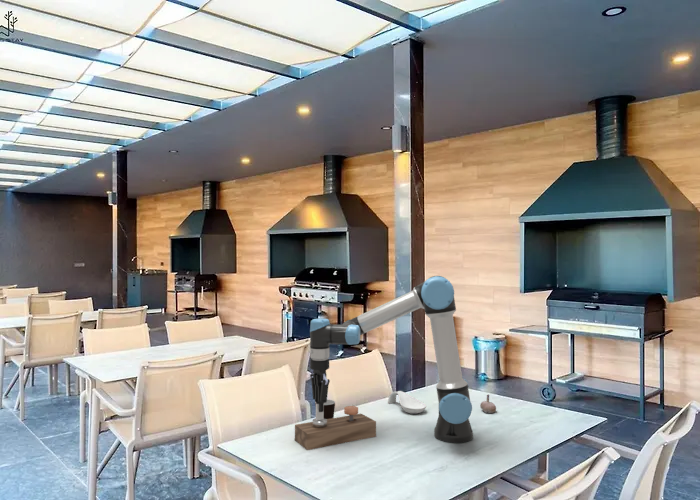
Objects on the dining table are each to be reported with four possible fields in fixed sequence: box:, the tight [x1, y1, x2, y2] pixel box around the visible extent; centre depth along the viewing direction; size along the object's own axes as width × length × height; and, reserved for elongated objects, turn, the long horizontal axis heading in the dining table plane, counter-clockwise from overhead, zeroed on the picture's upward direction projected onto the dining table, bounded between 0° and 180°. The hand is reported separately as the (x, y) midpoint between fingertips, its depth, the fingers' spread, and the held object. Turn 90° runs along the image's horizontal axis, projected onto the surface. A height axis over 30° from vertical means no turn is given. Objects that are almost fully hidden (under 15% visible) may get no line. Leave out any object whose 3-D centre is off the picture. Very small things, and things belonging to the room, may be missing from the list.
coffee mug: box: [314, 398, 336, 419], centre depth 220 cm, size 12×9×10 cm
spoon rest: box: [387, 390, 427, 415], centre depth 243 cm, size 24×12×7 cm, turn 31°
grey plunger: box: [312, 417, 327, 428], centre depth 200 cm, size 6×6×8 cm
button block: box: [294, 413, 377, 451], centre depth 203 cm, size 12×30×6 cm, turn 119°
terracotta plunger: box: [343, 405, 359, 422], centre depth 206 cm, size 6×6×8 cm
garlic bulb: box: [480, 394, 497, 414], centre depth 238 cm, size 8×7×8 cm
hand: (319, 419), depth 200 cm, fingers closed
